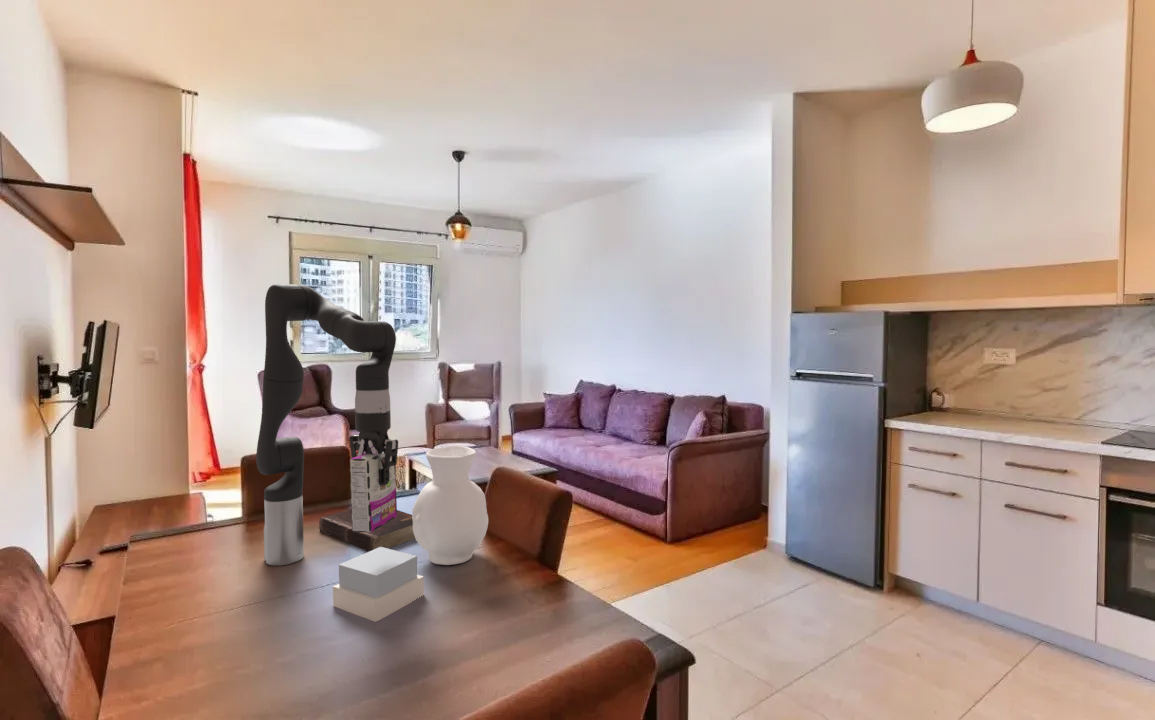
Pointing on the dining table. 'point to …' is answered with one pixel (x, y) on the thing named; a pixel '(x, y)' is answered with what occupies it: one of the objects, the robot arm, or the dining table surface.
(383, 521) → the candy bar box
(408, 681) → the dining table surface
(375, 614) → the lower block
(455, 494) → the vase
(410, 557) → the top block
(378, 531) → the hardback book
